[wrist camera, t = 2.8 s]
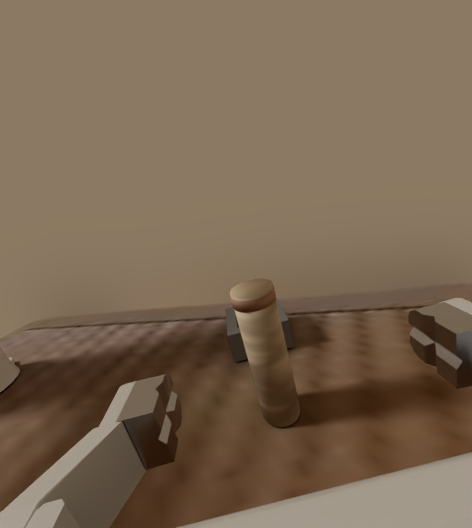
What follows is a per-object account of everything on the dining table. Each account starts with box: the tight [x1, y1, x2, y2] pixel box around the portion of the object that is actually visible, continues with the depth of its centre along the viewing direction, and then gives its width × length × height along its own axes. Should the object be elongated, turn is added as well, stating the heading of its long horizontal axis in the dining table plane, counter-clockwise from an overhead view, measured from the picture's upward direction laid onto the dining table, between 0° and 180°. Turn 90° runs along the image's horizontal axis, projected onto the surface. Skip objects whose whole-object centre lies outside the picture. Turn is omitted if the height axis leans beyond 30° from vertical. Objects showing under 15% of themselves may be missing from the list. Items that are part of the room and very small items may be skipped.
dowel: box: [230, 279, 300, 427], centre depth 23 cm, size 4×4×13 cm
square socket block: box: [226, 299, 294, 362], centre depth 36 cm, size 8×8×4 cm
